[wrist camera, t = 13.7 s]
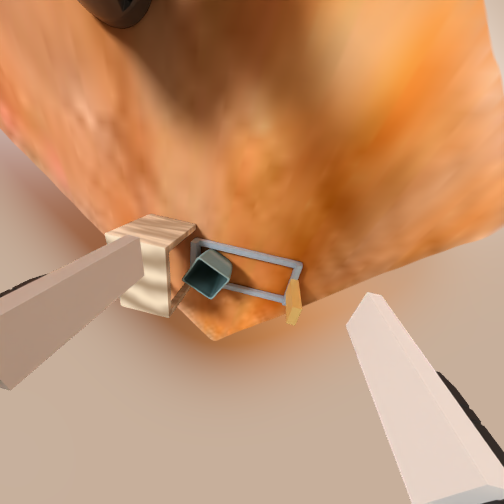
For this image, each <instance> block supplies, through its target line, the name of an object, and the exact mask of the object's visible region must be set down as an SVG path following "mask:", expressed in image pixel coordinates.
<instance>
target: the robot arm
mask: <svg viewBox="0 0 504 504" xmlns="http://www.w3.org/2000/svg"><path fill="white" fill-rule="evenodd" d="M78 1H79V2H80V4H81V5H82V6H83V7H85V8H86V9H87V10H88V11H89V12H90V13H92V14H93V15H94V16H96V17H97V18H98V19H100V20H101V21H103V22H104V23H106V24H108V25H110V26H112V27H116V28H127V27H130V26H133V25H134V24H136V23H137V22H138V21H140V20H141V18H142V17H143V16H144V15H145V13H146V11H147V9H148V7H149V5H150V2H151V0H78ZM143 276H145V275H144V267H143V260H142V252H141V244H140V237H136V236H131V235H125V236H123V237H121V238H119V239H117V240H115V241H113V242H111V243H109V244H107V245H105V246H103V247H101V248H99V249H97V250H95V251H93V252H91V253H89V254H87V255H85V256H83V257H81V258H79V259H77V260H75V261H73V262H71V263H69V264H67V265H65V266H63V267H61V268H59V269H57V270H55V271H53V272H51V273H49V274H45V275H42V276H39V277H36V278H32V279H29V280H27V281H25V282H23V283H21V284H19V285H17V286H15V287H13V289H11V290H7V291H5V292H3V293H1V294H0V388H4V389H7V390H12V389H13V388H14V387H15V386H16V385H17V384H19V383H20V382H21V381H22V380H23V379H24V378H26V377H27V376H28V375H29V374H30V373H31V372H32V371H34V370H35V369H36V368H37V367H38V366H39V365H41V364H42V363H43V362H44V361H45V360H47V359H48V358H49V357H50V356H51V355H52V354H53V353H55V352H56V351H57V350H58V349H59V348H60V347H62V346H63V345H64V344H65V343H66V342H68V341H69V340H70V339H71V338H72V337H73V336H75V335H76V334H77V333H78V332H79V331H80V330H82V329H83V328H84V327H85V326H86V325H87V324H89V323H90V322H91V321H92V320H93V319H94V318H96V317H97V316H98V315H99V314H100V313H101V312H102V311H104V310H105V309H106V308H107V307H108V306H110V305H111V304H112V303H113V302H114V301H115V300H117V299H118V298H119V297H120V296H121V295H122V294H124V293H125V292H126V291H127V290H128V289H129V288H131V287H132V286H133V285H134V284H135V283H136V282H138V281H139V280H140V279H141V278H142V277H143ZM346 328H347V331H348V333H349V336H350V339H351V341H352V344H353V347H354V349H355V352H356V355H357V358H358V360H359V363H360V366H361V368H362V371H363V374H364V376H365V379H366V382H367V384H368V387H369V390H370V392H371V395H372V398H373V400H374V403H375V406H376V409H377V411H378V414H379V417H380V419H381V422H382V425H383V428H384V430H385V433H386V436H387V438H388V441H389V444H390V446H391V449H392V452H393V455H394V457H395V460H396V463H397V465H398V468H399V471H400V473H401V476H402V478H403V481H404V484H405V487H406V490H407V492H408V495H409V498H410V500H411V503H412V504H504V452H503V451H502V449H501V448H500V446H499V445H498V444H497V442H496V441H495V440H494V439H493V437H492V436H491V434H490V433H489V432H488V430H487V429H486V428H485V427H484V426H482V425H481V421H480V420H479V418H478V417H477V416H476V414H475V413H474V412H473V410H471V409H469V405H468V404H467V402H466V401H465V400H464V398H463V397H462V396H461V395H460V393H459V392H458V390H457V389H456V388H455V387H454V386H453V385H452V384H451V383H450V382H449V381H448V380H447V379H446V378H445V377H444V376H443V375H442V374H441V373H440V372H436V371H435V370H434V369H433V367H432V366H431V364H430V363H429V362H428V360H427V359H426V357H425V356H424V355H423V353H422V352H421V350H420V349H419V347H418V346H417V345H416V343H415V342H414V340H413V339H412V338H411V336H410V335H409V333H408V332H407V331H406V329H405V328H404V326H403V325H402V324H401V322H400V321H399V319H398V318H397V317H396V315H395V314H394V312H393V311H392V309H391V308H390V307H389V305H388V304H387V302H386V301H385V300H384V298H383V297H382V296H381V295H378V294H374V293H369V292H367V293H366V295H365V296H364V298H363V299H362V301H361V302H360V304H359V305H358V307H357V309H356V310H355V312H354V313H353V315H352V317H351V318H350V320H349V321H348V323H347V324H346Z"/></svg>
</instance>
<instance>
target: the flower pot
mask: <svg viewBox="0 0 504 504" xmlns="http://www.w3.org/2000/svg"><path fill="white" fill-rule="evenodd" d="M231 273H232V264H231V262H230V261H229V260H228V259H227V258H226V257H224V256H223V255H221V254H220V253H219V252H217V251H216V250H213V249H209V250H206V251H205V252H204V253H202V254H201V255H200V256H199V257H198V258H197V259H196V260H195V262H194V263H193V264H192V266H191V267H190V269H189V270H188V272H187V273H186V274H185V276H184V277H183V278H182V281H183V282H185V283H186V284H188V285H189V286H191V287H192V288H194V289H195V290H197V291H198V292H200V293H201V294H203V295H204V296H206V297H207V298H209V299H213V298H214V297H215V296H216V294H217V293H218V292H219V291H220V290H221V289H222V288H223V287H224V286H225V285H226V284H227V283H228V282H229V281H230V277H231Z"/></svg>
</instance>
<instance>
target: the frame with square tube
mask: <svg viewBox="0 0 504 504" xmlns="http://www.w3.org/2000/svg"><path fill="white" fill-rule="evenodd" d="M201 246H203V247H207V248H212V249H216V250H220V251H224V252H228V253H233V254H237V255H241V256H245V257H249V258H254V259H258V260H262V261H266V262H271V263H275V264H279V265H283V266H287V267H292V268H294V269H293V272H292V274H291V277H290V280H289V283H288V286H287V288H286V291H285V294H284V296H281V295H277V294H273V293H269V292H265V291H261V290H257V289H253V288H249V287H245V286H241V285H236V284H232V283H227V284H226V285H225V286H224V287H223V288H224V289H228V290H232V291H236V292H240V293H244V294H248V295H252V296H257V297H261V298H265V299H269V300H273V301H277V302H281V303H282V305H285V306H286V323H287V324H291V325H296V322H297V320H298V318H299V316H300V313H301V311H302V303H301V295H300V288H299V280H298V278H299V275H300V273H301V270H302V267H303V264H302V262H299V261H295V260H290V259H286V258H282V257H278V256H273V255H269V254H265V253H261V252H256V251H252V250H248V249H244V248H239V247H235V246H231V245H227V244H222V243H218V242H214V241H210V240H205V239H201V238H197V237H196V238H194V239H193V240H192V241H191V252H190V267H191V266H192V264H193V263H194V262H195V260H196V259H197V258H198V257H199V256H200V255H201Z"/></svg>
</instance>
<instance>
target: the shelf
mask: <svg viewBox="0 0 504 504" xmlns="http://www.w3.org/2000/svg"><path fill="white" fill-rule="evenodd" d="M195 230H196V224H193V223H189V222H185V221H180V220H176V219H172V218H167V217H163V216H159V215H155V214H149V215H147V216H144V217H142V218H140V219H137V220H135V221H133V222H130V223H128V224H126V225H123V226H121V227H119V228H116V229H114V230H112V231H109V232H107V233H105V237H106V242H107V244H109V243H111V242H113V241H115V240H117V239H119V238H121V237H123V236H125V235H131V236H136V237H140V244H141V252H142V260H143V267H144V275H145V276H143V277H142V278H141V279H140V280H139V281H138V282H136V283H135V284H134V285H133V286H132V287H131V288H129V289H128V290H127V291H126V292H125V293H124V294H122V295H121V296H120V297H119V298H120V302H121V306H125V307H128V308H132V309H136V310H140V311H144V312H148V313H152V314H155V315H159V316H163V317H167V318H169V317H170V316H171V315H172V313H173V312H174V310H175V309H176V308H177V306H178V305H179V303H180V302H181V300H182V299H183V298H184V296H185V295H186V293H187V292H188V291H189V289H190V288H191V286H189V285H188V284H186V283H185V284H184V285H183V286H182V288H181V289H180V290H179V292H178V293H177V294H176V295H175V297H174V298H173V299H172V301H171V286H170V264H169V252H170V251H171V250H172V249H173V248H174V247H176V246H177V245H178V244H179V243H180V242H182V241H183V240H184V239H185V238H186V237H188V236H189V235H190V234H191V233H192V232H194V231H195Z"/></svg>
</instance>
